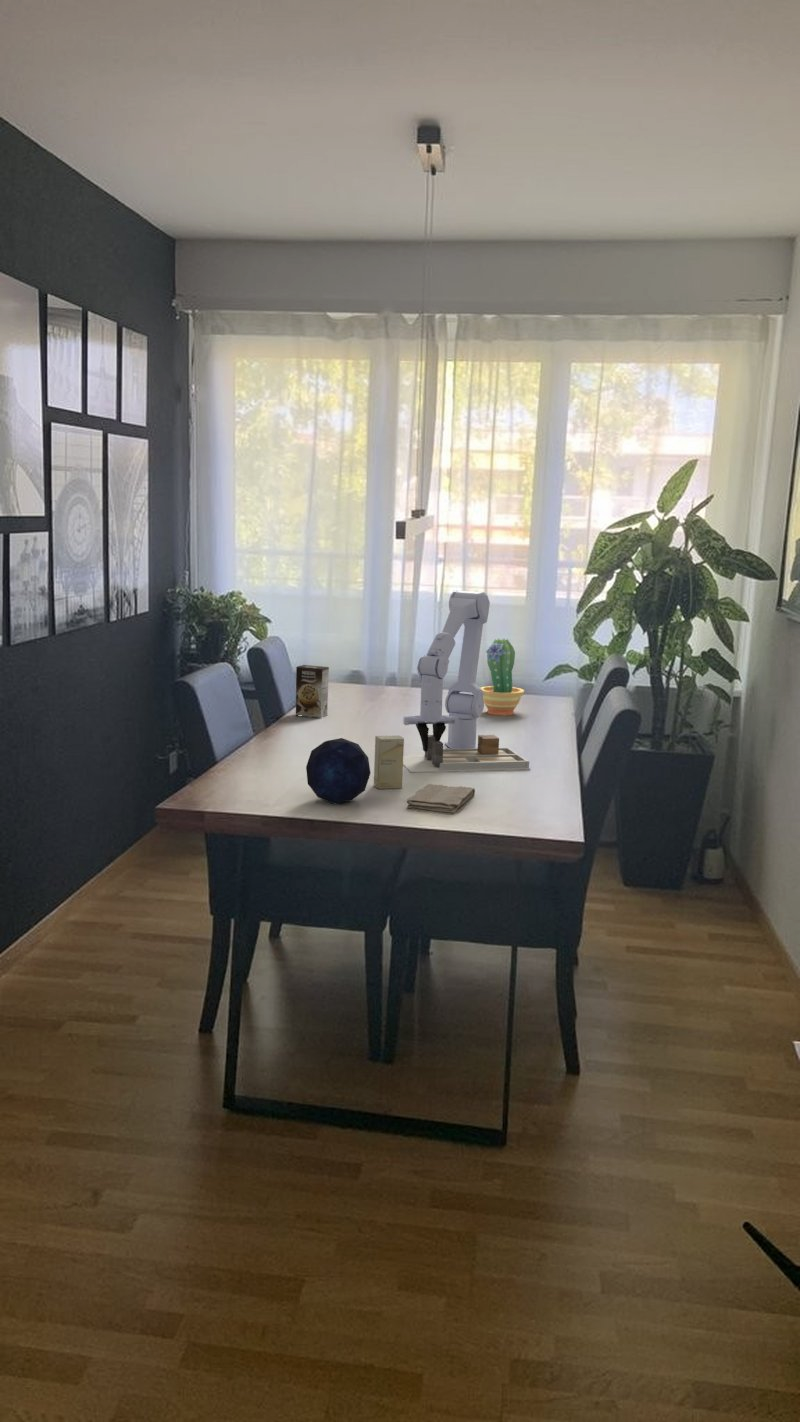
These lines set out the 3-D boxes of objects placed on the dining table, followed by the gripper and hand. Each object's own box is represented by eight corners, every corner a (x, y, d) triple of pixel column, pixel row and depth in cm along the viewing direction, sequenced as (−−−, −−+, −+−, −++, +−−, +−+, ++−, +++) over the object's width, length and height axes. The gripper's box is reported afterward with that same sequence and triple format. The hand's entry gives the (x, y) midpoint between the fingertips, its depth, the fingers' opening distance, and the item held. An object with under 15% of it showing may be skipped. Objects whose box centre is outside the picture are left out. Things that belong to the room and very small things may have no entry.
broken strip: (430, 762, 272) (431, 740, 271) (511, 760, 277) (512, 738, 276) (436, 767, 266) (437, 744, 265) (518, 765, 271) (519, 743, 270)
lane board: (395, 756, 280) (395, 749, 280) (508, 754, 287) (508, 746, 287) (410, 772, 263) (410, 765, 262) (530, 769, 270) (530, 761, 269)
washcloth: (404, 811, 229) (404, 798, 229) (426, 792, 246) (427, 779, 246) (456, 817, 226) (456, 803, 225) (475, 797, 243) (476, 784, 242)
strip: (423, 755, 280) (424, 733, 279) (501, 753, 284) (502, 732, 283) (428, 760, 274) (429, 738, 273) (508, 758, 279) (509, 736, 278)
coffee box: (294, 716, 334) (295, 666, 331) (302, 713, 340) (302, 664, 337) (321, 718, 331) (322, 668, 328) (328, 715, 337) (329, 666, 334)
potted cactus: (469, 710, 353) (472, 637, 348) (508, 707, 359) (511, 635, 355) (492, 718, 339) (495, 642, 335) (532, 715, 346) (536, 641, 341)
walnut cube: (477, 751, 282) (478, 735, 281) (493, 751, 283) (494, 734, 282) (482, 755, 278) (483, 738, 277) (498, 754, 279) (499, 738, 278)
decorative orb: (393, 780, 233) (365, 722, 237) (346, 792, 222) (318, 731, 226) (356, 807, 242) (330, 751, 246) (309, 820, 231) (282, 760, 234)
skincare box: (377, 789, 246) (378, 739, 243) (373, 784, 250) (374, 735, 248) (403, 788, 247) (404, 738, 245) (398, 783, 251) (399, 734, 249)
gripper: (408, 703, 269) (406, 754, 271) (462, 702, 272) (460, 753, 274) (402, 698, 275) (400, 748, 278) (454, 698, 279) (453, 747, 281)
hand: (429, 750), depth 277 cm, fingers closed on strip, 2 cm apart
